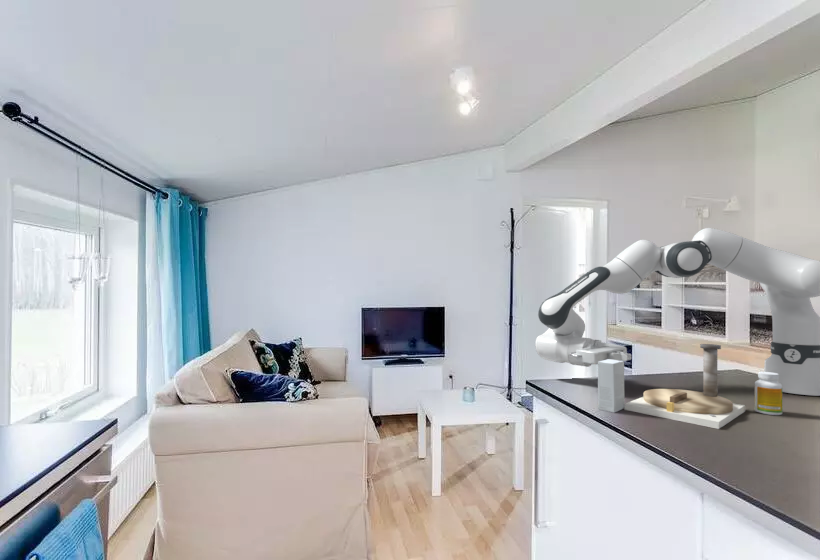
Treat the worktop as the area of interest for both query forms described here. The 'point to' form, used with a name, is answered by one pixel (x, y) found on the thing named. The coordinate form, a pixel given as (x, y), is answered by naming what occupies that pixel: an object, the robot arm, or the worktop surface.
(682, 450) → the worktop surface
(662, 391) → the dial
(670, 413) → the dial stand
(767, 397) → the supplement bottle
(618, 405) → the skincare box
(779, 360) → the robot arm
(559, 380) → the worktop surface
